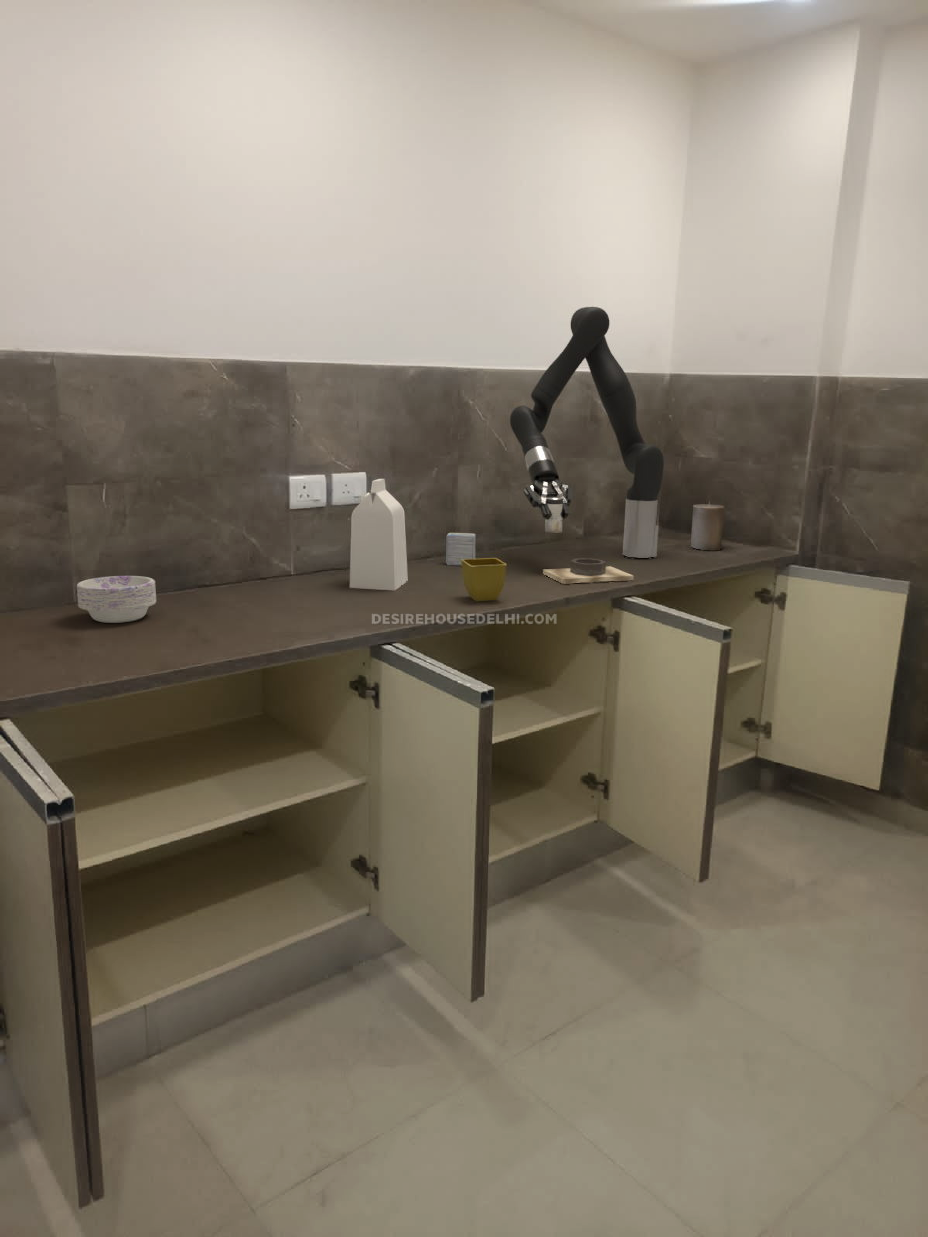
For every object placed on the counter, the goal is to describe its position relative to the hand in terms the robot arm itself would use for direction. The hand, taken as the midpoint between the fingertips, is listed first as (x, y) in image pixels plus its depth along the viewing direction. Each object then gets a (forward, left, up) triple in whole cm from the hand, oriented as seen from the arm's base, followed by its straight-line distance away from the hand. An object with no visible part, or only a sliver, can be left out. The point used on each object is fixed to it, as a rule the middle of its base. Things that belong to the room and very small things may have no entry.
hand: (557, 517), depth 233 cm
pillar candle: (-65, -29, -16) cm, 73 cm away
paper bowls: (+108, +22, -16) cm, 111 cm away
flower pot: (+28, +23, -16) cm, 40 cm away
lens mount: (-7, +6, -16) cm, 18 cm away
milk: (+48, +1, -16) cm, 51 cm away
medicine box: (+20, -20, -16) cm, 32 cm away
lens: (0, -2, -4) cm, 5 cm away
